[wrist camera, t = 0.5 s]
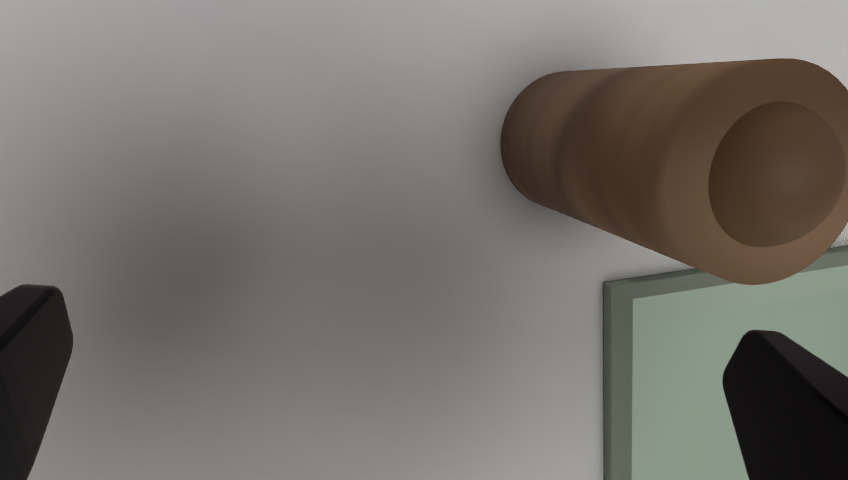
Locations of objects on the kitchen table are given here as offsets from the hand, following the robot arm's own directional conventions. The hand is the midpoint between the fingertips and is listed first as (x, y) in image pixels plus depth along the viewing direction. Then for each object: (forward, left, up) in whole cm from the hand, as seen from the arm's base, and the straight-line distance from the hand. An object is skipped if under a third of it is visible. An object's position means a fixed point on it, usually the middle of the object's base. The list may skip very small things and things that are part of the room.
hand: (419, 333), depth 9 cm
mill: (+1, -9, -14) cm, 16 cm away
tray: (-11, -17, -14) cm, 24 cm away
